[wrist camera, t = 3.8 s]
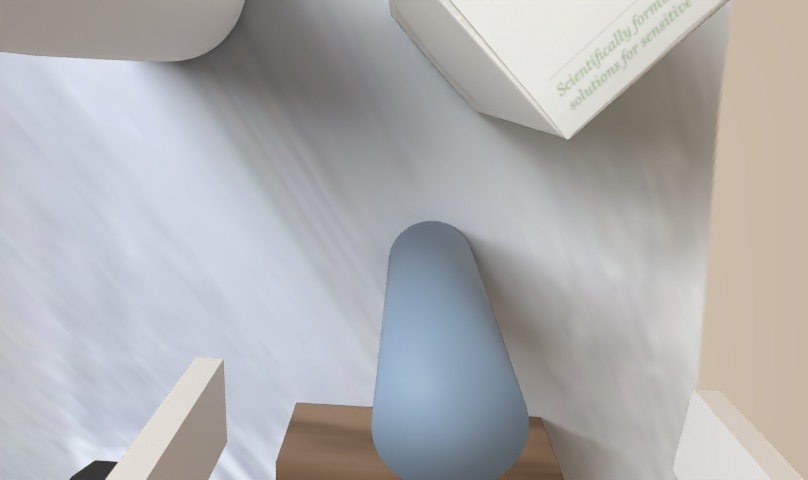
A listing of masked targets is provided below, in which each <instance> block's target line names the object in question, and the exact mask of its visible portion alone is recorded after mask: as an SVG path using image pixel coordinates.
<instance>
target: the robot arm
mask: <svg viewBox="0 0 808 480" xmlns="http://www.w3.org/2000/svg"><path fill="white" fill-rule="evenodd" d="M226 443H227V430H226V406H225V383H224V359H220V358H205V357H196V358H195V359H194V360H193V362H192V363H191V364H190V366H189V367H188V368H187V370H186V371H185V372H184V374H183V375H182V376H181V378H180V379H179V381H178V382H177V383H176V385H175V386H174V387H173V389H172V390H171V391H170V393H169V394H168V395H167V397H166V398H165V399H164V401H163V402H162V404H161V405H160V406H159V408H158V409H157V410H156V412H155V413H154V414H153V416H152V417H151V418H150V420H149V421H148V423H147V424H146V425H145V427H144V428H143V429H142V431H141V432H140V433H139V435H138V436H137V437H136V439H135V440H134V441H133V443H132V444H131V446H130V447H129V448H128V450H127V451H126V452H125V454H124V455H123V456H122V458H121V459H120V460H119V462H111V461H96V460H95V461H94V462H92V463H91V464H89V465H88V466H86V467H85V468H84V469H82V470H81V471H79V472H78V473H76V474H75V475H74V476H72V477H71V479H70V480H208V479H209V477H210V475H211V473H212V471H213V469H214V467H215V465H216V463H217V461H218V459H219V457H220V455H221V453H222V451H223V449H224V447H225V445H226ZM672 471H673V472H674V474H675V475H676V477H677V479H678V480H804V479H803V478H802V477H801V476H800V475H799V474H798V473H797V472H796V470H795V469H793V467H792V466H791V465H790V464H789V463H788V462H787V461H786V460H785V459H784V458H783V457H782V456H781V455H780V454H779V453H778V451H777V450H776V449H775V448H774V447H773V446H772V445H771V444H770V443H769V442H768V441H767V440H766V439H765V438H764V437H763V435H762V434H761V433H760V432H759V431H758V430H757V429H756V428H755V427H754V426H753V425H752V424H751V423H750V422H749V421H748V419H746V417H745V416H744V415H743V414H742V413H741V412H740V411H739V410H738V409H737V408H736V407H735V406H734V405H733V404H732V403H731V401H730V400H729V399H728V398H727V397H726V396H725V395H724V394H723V393H722V392H721V391H719V390H704V389H693V391H692V395H691V399H690V402H689V406H688V410H687V414H686V418H685V422H684V425H683V429H682V433H681V437H680V441H679V445H678V449H677V452H676V456H675V460H674V464H673V468H672Z"/></svg>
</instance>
